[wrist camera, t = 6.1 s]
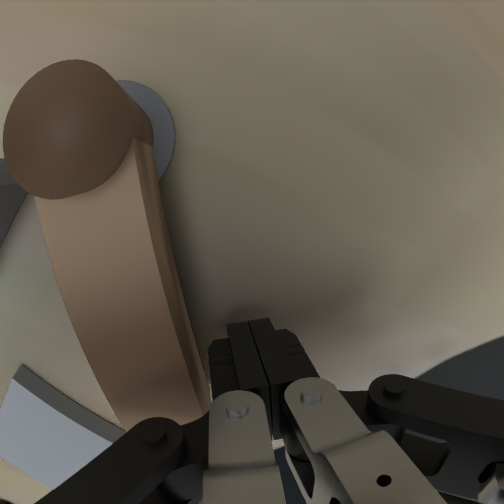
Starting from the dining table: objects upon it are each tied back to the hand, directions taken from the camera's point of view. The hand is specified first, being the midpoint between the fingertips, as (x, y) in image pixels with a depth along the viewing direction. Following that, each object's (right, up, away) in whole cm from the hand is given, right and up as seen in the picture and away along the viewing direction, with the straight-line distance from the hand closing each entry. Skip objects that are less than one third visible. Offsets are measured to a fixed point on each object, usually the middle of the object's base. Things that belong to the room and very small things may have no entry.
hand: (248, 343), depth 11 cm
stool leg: (-4, +3, 0) cm, 5 cm away
